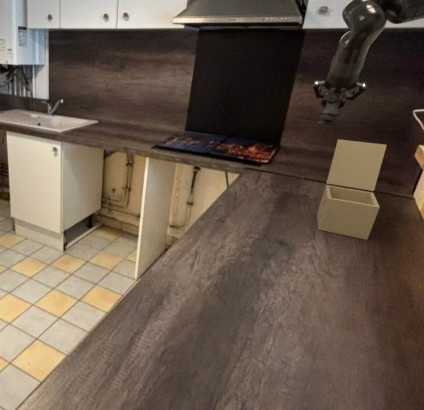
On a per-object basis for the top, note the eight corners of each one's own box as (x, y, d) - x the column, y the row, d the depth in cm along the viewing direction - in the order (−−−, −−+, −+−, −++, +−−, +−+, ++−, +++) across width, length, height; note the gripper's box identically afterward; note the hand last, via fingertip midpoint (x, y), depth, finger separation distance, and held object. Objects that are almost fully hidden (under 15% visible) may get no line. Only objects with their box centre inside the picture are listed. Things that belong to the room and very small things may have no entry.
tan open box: (367, 240, 99) (379, 207, 95) (317, 229, 104) (327, 198, 100) (362, 222, 109) (373, 192, 105) (317, 213, 114) (326, 184, 110)
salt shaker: (319, 124, 115) (329, 85, 110) (315, 121, 120) (325, 83, 115) (340, 125, 113) (352, 86, 108) (335, 122, 118) (346, 84, 113)
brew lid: (386, 144, 103) (382, 147, 107) (338, 139, 108) (336, 141, 112) (374, 190, 104) (370, 191, 108) (326, 183, 110) (324, 184, 114)
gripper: (378, 56, 99) (360, 98, 114) (319, 55, 106) (309, 94, 120) (375, 78, 97) (356, 117, 112) (314, 75, 104) (304, 113, 118)
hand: (331, 105), depth 116 cm, fingers closed on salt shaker, 3 cm apart
